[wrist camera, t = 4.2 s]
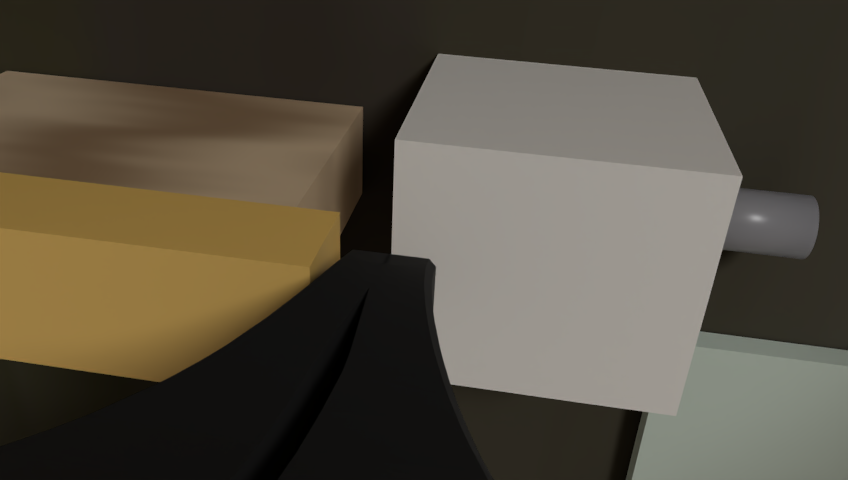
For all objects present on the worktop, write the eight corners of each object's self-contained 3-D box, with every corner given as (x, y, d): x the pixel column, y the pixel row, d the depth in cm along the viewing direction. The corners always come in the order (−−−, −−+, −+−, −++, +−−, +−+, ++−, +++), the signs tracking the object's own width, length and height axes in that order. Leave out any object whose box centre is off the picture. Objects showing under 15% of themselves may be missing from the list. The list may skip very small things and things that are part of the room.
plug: (821, 87, 15) (914, 194, 11) (758, 287, 17) (817, 436, 13) (438, 52, 16) (394, 139, 12) (427, 247, 18) (387, 375, 14)
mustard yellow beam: (340, 212, 12) (310, 267, 10) (340, 340, 13) (313, 404, 12) (-197, 148, 13) (-289, 191, 11) (-151, 273, 14) (-229, 325, 13)
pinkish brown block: (362, 107, 16) (295, 209, 12) (362, 193, 17) (299, 313, 13) (6, 70, 17) (-166, 154, 13) (26, 154, 18) (-130, 256, 14)
